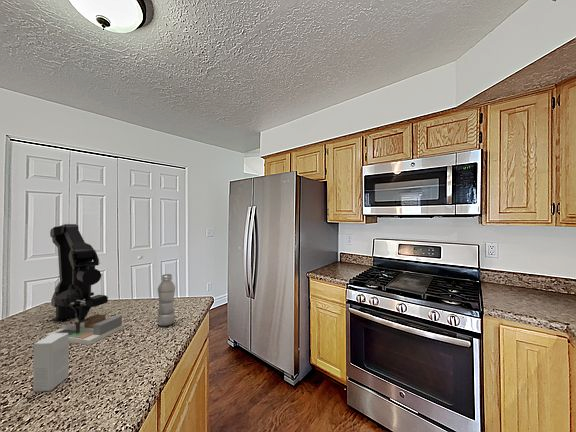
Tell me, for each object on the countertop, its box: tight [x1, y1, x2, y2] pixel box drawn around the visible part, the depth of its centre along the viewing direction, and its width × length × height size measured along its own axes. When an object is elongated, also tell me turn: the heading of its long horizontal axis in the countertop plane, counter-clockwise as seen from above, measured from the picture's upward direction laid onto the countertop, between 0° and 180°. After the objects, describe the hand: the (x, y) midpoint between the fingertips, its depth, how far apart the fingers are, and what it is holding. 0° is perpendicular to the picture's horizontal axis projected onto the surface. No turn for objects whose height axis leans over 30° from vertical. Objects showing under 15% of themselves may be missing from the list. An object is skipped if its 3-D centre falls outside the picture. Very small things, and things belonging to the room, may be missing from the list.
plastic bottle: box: [156, 273, 176, 327], centre depth 106 cm, size 6×7×20 cm
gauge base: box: [45, 315, 125, 346], centre depth 97 cm, size 19×14×5 cm
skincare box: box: [32, 333, 70, 393], centre depth 67 cm, size 6×4×12 cm
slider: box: [73, 313, 107, 334], centre depth 96 cm, size 4×10×4 cm, turn 167°
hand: (81, 321), depth 100 cm, fingers closed
